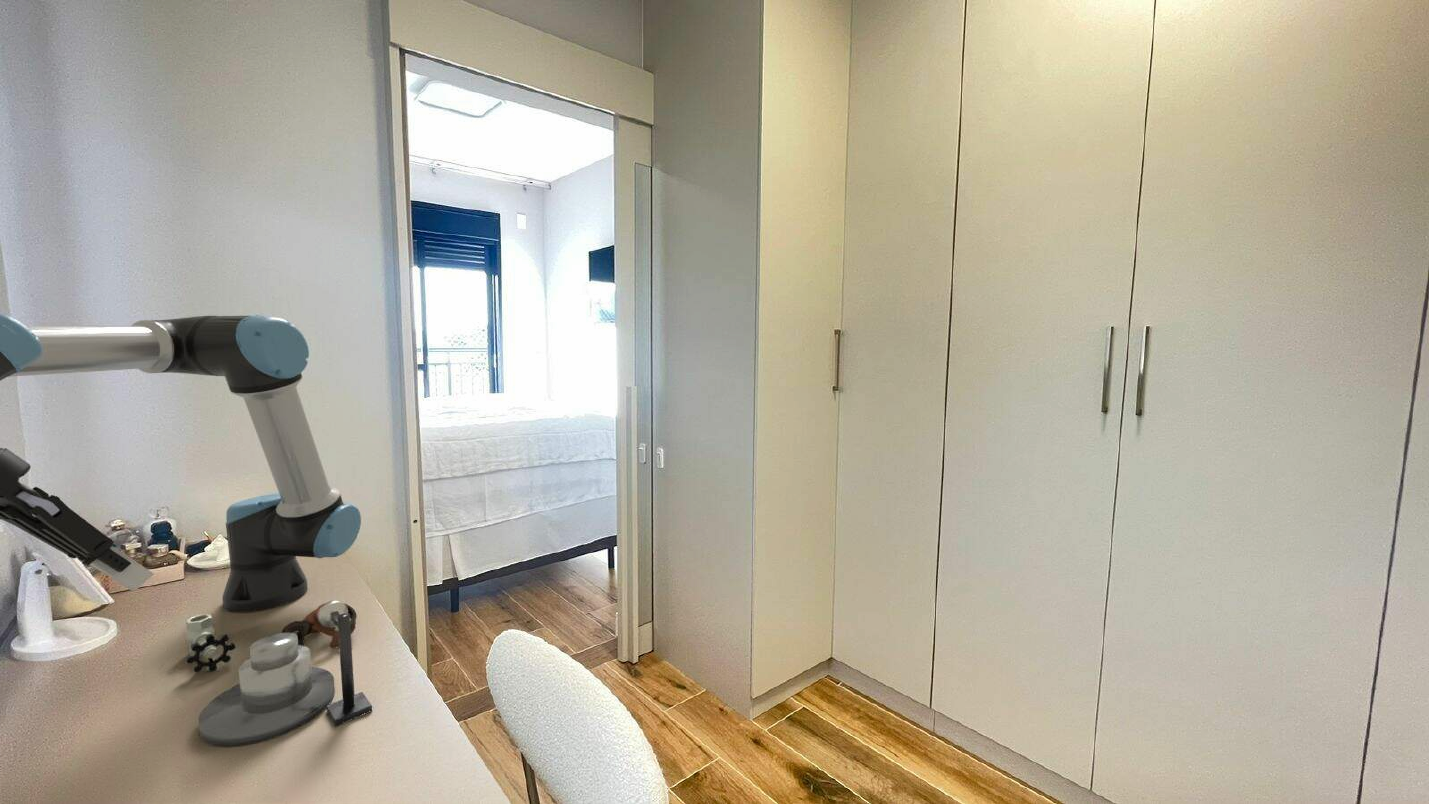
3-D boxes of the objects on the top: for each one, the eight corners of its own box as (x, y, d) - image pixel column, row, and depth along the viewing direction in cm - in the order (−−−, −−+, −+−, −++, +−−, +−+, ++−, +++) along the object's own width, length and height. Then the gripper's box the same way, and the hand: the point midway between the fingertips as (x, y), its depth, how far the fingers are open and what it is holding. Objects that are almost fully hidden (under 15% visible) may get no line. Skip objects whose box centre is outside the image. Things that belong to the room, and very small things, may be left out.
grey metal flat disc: (193, 709, 91) (192, 697, 90) (320, 666, 103) (319, 655, 103) (206, 765, 79) (205, 751, 79) (347, 708, 91) (347, 696, 91)
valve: (176, 654, 106) (188, 679, 99) (172, 621, 105) (184, 643, 98) (222, 640, 111) (237, 663, 104) (219, 608, 111) (234, 629, 103)
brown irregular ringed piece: (333, 626, 118) (350, 594, 117) (351, 660, 113) (369, 627, 112) (266, 637, 108) (284, 602, 107) (282, 674, 103) (302, 638, 102)
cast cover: (239, 694, 91) (235, 641, 90) (307, 672, 98) (304, 622, 97) (244, 722, 85) (239, 665, 84) (317, 696, 91) (313, 643, 90)
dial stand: (319, 698, 94) (313, 606, 92) (354, 685, 97) (348, 596, 96) (335, 726, 87) (328, 627, 85) (372, 711, 91) (366, 615, 89)
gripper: (-93, 493, 68) (95, 604, 81) (-58, 487, 63) (138, 607, 76) (-19, 449, 74) (146, 560, 87) (19, 440, 68) (190, 559, 81)
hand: (142, 581), depth 81 cm, fingers closed
